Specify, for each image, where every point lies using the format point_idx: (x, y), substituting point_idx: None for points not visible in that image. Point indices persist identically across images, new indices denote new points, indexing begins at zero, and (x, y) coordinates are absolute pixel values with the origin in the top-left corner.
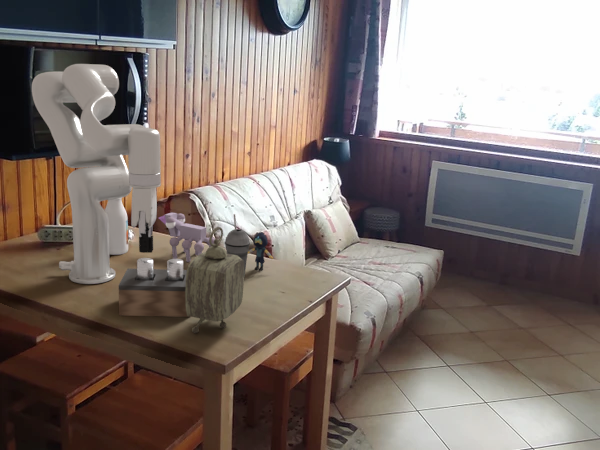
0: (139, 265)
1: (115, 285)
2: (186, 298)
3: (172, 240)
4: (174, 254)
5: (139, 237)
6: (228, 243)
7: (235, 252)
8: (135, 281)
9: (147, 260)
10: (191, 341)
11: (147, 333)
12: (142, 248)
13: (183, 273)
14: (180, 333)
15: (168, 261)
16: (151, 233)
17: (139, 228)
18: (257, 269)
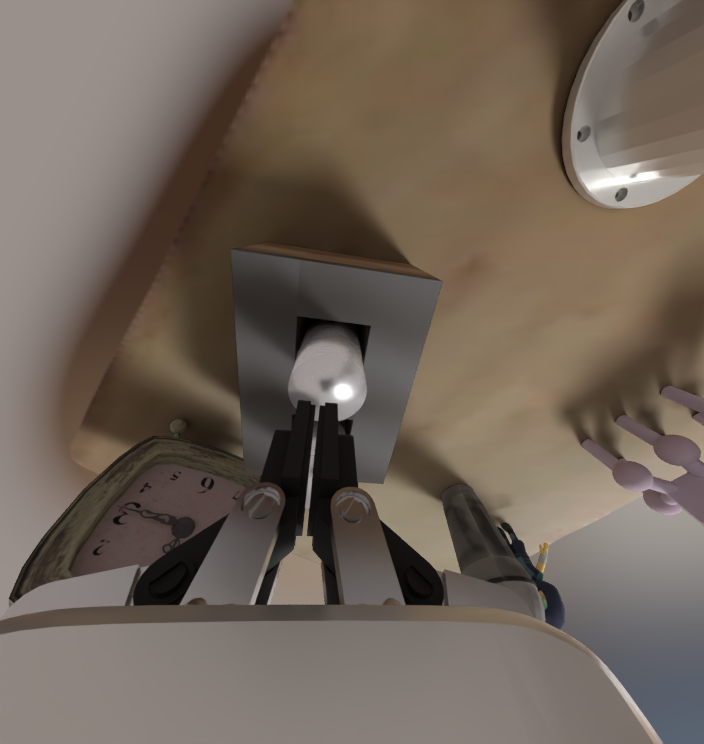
0: (299, 360)
1: (521, 214)
2: (98, 477)
3: None
4: (677, 397)
5: (282, 476)
6: None
7: (464, 571)
8: (282, 320)
9: (327, 400)
10: (141, 413)
11: (159, 325)
12: (275, 433)
13: (359, 459)
14: (176, 395)
15: (312, 470)
16: (321, 560)
17: (187, 598)
18: (502, 527)
